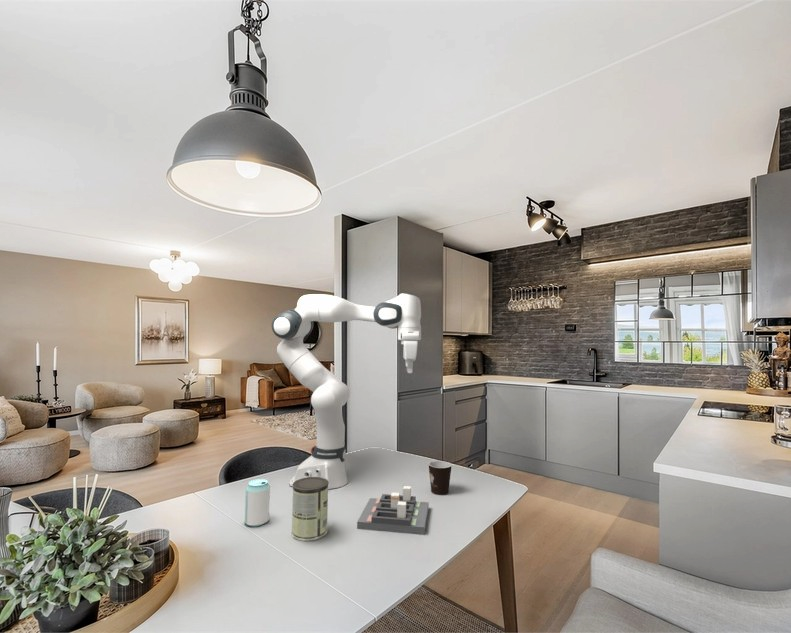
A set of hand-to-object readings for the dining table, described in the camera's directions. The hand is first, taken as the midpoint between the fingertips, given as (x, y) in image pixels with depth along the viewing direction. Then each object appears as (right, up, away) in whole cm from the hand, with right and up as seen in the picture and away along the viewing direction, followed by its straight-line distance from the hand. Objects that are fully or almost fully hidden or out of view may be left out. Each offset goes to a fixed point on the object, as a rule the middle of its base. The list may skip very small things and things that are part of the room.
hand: (409, 372), depth 148 cm
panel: (-5, -43, -25) cm, 50 cm away
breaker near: (-3, -40, -31) cm, 51 cm away
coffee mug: (+11, -45, -1) cm, 46 cm away
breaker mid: (-5, -40, -25) cm, 47 cm away
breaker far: (-1, -41, -19) cm, 45 cm away
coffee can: (-30, -42, -35) cm, 62 cm away
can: (-48, -42, -29) cm, 70 cm away
